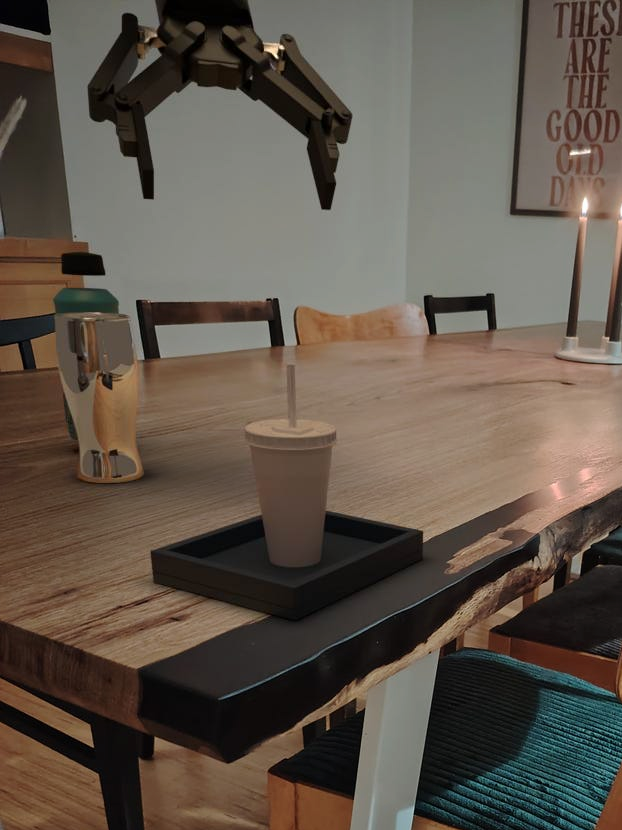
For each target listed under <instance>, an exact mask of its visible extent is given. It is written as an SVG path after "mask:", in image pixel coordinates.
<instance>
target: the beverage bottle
mask: <svg viewBox="0 0 622 830" xmlns="http://www.w3.org/2000/svg"><path fill="white" fill-rule="evenodd" d="M60 262H61V263H60V264H61V267H60V269H61V275H65V276H66V275H67V276H68V275H69V276H88V277H103V276H104V277H105V276H107V275H106V269H105V265H104V259H103V256H102V255H101V254H97V253H94V252H93V253H92V252H86V251H71V252H64V253H63V252H62V253H61V255H60ZM52 301H53V302H52V303H53V306H54V313H55V314H58V313H70V312H101V313H117V314H120V310H119V306H120V302H119V299H117V297H116V296H114V295H113V293H112V292H111V291H109V290H108V289H106V288H99V287H98V288H96V287H62V288H61V289H60V290H59V291H58V292H57V293H56V294H55V296H54V297H53V299H52ZM60 383H61V384H62V382H61V381H60ZM61 387H62V391H63V392H62V398H63V407H64V414H65V415H64V416H65V422H66V430H67V432H68V434H69V436H70V439H72V440H74V441H78V438H77V433H76V429H75V426H74V422H73V419H72V416H71V413H70V410H69V406H68V403H67V400H66V397H65V393H64V390H63V386H62V385H61Z"/></svg>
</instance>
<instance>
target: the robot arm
mask: <svg viewBox="0 0 622 830" xmlns="http://www.w3.org/2000/svg"><path fill="white" fill-rule="evenodd" d="M154 2H155V8H156V13H157V19H158V24H159V26H158V27H157V28H155V27H151V26H146V25H141V24H139V19H138V16H137V15H136V14H134V13H131V12H124V13H122V14H121V31H120V33H119V35H118V37H117V38H116V40H115V41H114V43H113V44H112V46H111V48H110V49H109V51H108V52H107V54H106V55H105V57H104V58H103V60H102V62H101V63H100V65H99V67H98V69H97V70H96V71H95V73H94V74H93V76H92V77H91V79H90V81H89V82H88V84H87V87H86V89H87V100H88V103H87V104H88V114H89V115H88V116H89V118H90V120H92V121H93V122H95V123H103V122H105V121H109V122H111V123H112V124H113V125H114V126H115V134H116V136H117V138H118V144H119V150H120V153H121V154H122V156H123V157H124V158H125V157H126V158H136V163H137V169H138V170H137V171H138V174H139V175H138V176H139V181H140V186H141V187H140V188H141V192H142V199H143V200H155V168H154V162H153V157H152V151H151V145H150V139H149V134H148V128H147V123H146V117H147V116H148V115H149V114H151V112H153V111H154V110H155V109H157V108H158V107H159V106H160V105H161V104H162V103H163V102H164V101H166V99H168V98H169V97H170V96H172V94H173V93H174V92H175V93H177V94H180V93H181V92H182V91H183V90H184V89H186V88H187V87H188V86H189V85H190V84H191V83H195V84H196V86H197V87H200V88H215V87H216V88H220V89H224V90H228V91H229V90H230V91H237V89H238V90H239V91H241V92H242V93H243V94H244V95H246V96H247V97H248V98H249V99H251V100H252V101H254V102H257V101H260V102H261V103H263V104H264V105H265V106H267V108H269V109H270V110H271V111H273V112H274V113H275V114H276V115H277V116H279V117H280V118H281V119H283V120H284V122H286V123H288V124H289V125H290V126H291V127H292V128H294V129H295V130H296V131H298V132H299V133H300V134H301V135H302V136H304V137H305V138H306V139H307V144H306V151H307V156H308V160H309V165H310V169H311V172H312V176H313V180H314V181H313V182H314V185H315V189H316V193H317V197H318V202H319V205H320V209H321V211H322V210H323V211H331V210H332V206H333V201H334V197H335V192H336V187H337V180H336V176H335V174H336V173H337V169H338V164H339V160H340V159H339V158H340V151H339V145H345V144H346V143H348V140H349V134H350V130H351V126H352V121H353V113H352V111H351V110H350V109H349V107H347V105H346V104H345V103H344V102H343V100H341V98H340V97H339V96H338V95H337V94H336V93H335V92H334V91H333V90H332V88H331V86H329V85H328V83H327V82H326V81H325V80H324V79H323V78H322V76H321V75H320V74H319V73H318V72H317V70H316V69H315V68H314V67H313V66H312V65H311V64H310V63H309V61H308V60H307V59H306V58H305V57H304V56H303V55H302V53H301V51H300V49H299V46H298V44H297V41H296V38H295V37H294V36H293V35H291V34H290V33H289V34H288V33H283V34H281V35H280V39H279V42H264V41H263V39H262V38H261V37H260V36H259V35H258V34H257V32H256V31H255V28H254V21H253V17H252V13H251V9H250V5H249V0H154ZM151 49H157V50H158V53H159V54H160V56H158V58H156V59H155V60H154V61H152V62H151V63H150V64H149V65H148V66H147V67H145V68H144V69H143V70H141V72H139V73H138V74H137V75H136V76H134V78H132V77H133V75H134V74H135V72H136V70H137V68H138V65H139V60H141V61H144V60H145V59H146V55H147V54H148V53H149V52H150V51H151ZM338 144H339V145H338Z"/></svg>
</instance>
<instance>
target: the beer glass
mask: <svg viewBox="0 0 622 830" xmlns="http://www.w3.org/2000/svg"><path fill="white" fill-rule="evenodd" d="M53 317H54V325H55V326H54V329H55V331H54V332H55V349H56V350H55V351H56V360H57V368H58V372H59V379H60V383H61V382H62V383H61V387H62V386H63V387H62V389H63V390H64V391H63V390H62V391H63V393H65V397H66V400H67V403H68V406H69V410H70V413H71V416H72V419H73V422H74V426H75V429H76V433H77V438H78V440H77V444H78V461H77V462H78V464H77V478H78V479H79V480H82V482H86V483H92V484H93V483H94V484H119V483H128V482H132V481H136V480H139V479H141V478H142V477H143V476H144V474H145V473H144V472H145V471H144V467H143V463H142V461H141V458H140V457H141V456H140V454H139V450H138V445H137V431H136V429H137V428H136V427H137V414H138V413H137V412H138V411H137V410H138V398H139V362H138V353H137V346H136V342H135V335H134V330H133V325H132V319H131V318H132V317H131V315H129V314H126V313H119V314H117V313H101V312H70V313H58V314H56V313H55V314H54V315H53Z"/></svg>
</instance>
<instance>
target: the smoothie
mask: <svg viewBox="0 0 622 830" xmlns="http://www.w3.org/2000/svg"><path fill="white" fill-rule="evenodd" d="M285 365H286V367H285V368H286V388H287V389H286V391H287V392H286V393H287V416H288V417H287V419H281V418H279V419H266V420H260V421H259V420H258V421H255V422H252V423H249V424H246V425H245V427H244V439H243V440H244V443H245V444H246V445H248V446H249V449H250V455H251V461H252V467H253V472H254V479H255V483H256V489H257V495H258V501H259V506H260V513H261V514H262V519H263V524H264V530H265V536H266V542H267V547H268V553H269V559H270V562H271V563H273V564H275V565H278V566H283V567H306V566H311V565H314V564H316V563H318V562H319V561H320V559H321V550H322V541H323V531H324V522H325V512H326V511H327V503H328V492H329V482H330V475H331V474H330V473H331V466H332V465H331V464H332V454H333V447H334V446H335V445H336V444H337V443H338V439H337V428H336V427H335V426H334V425H332V424H330V423H327V422H323V421H317V420H311V419H310V420H308V419H297V395H296V394H297V393H296V392H297V391H296V364H295V363H286V364H285Z"/></svg>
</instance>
